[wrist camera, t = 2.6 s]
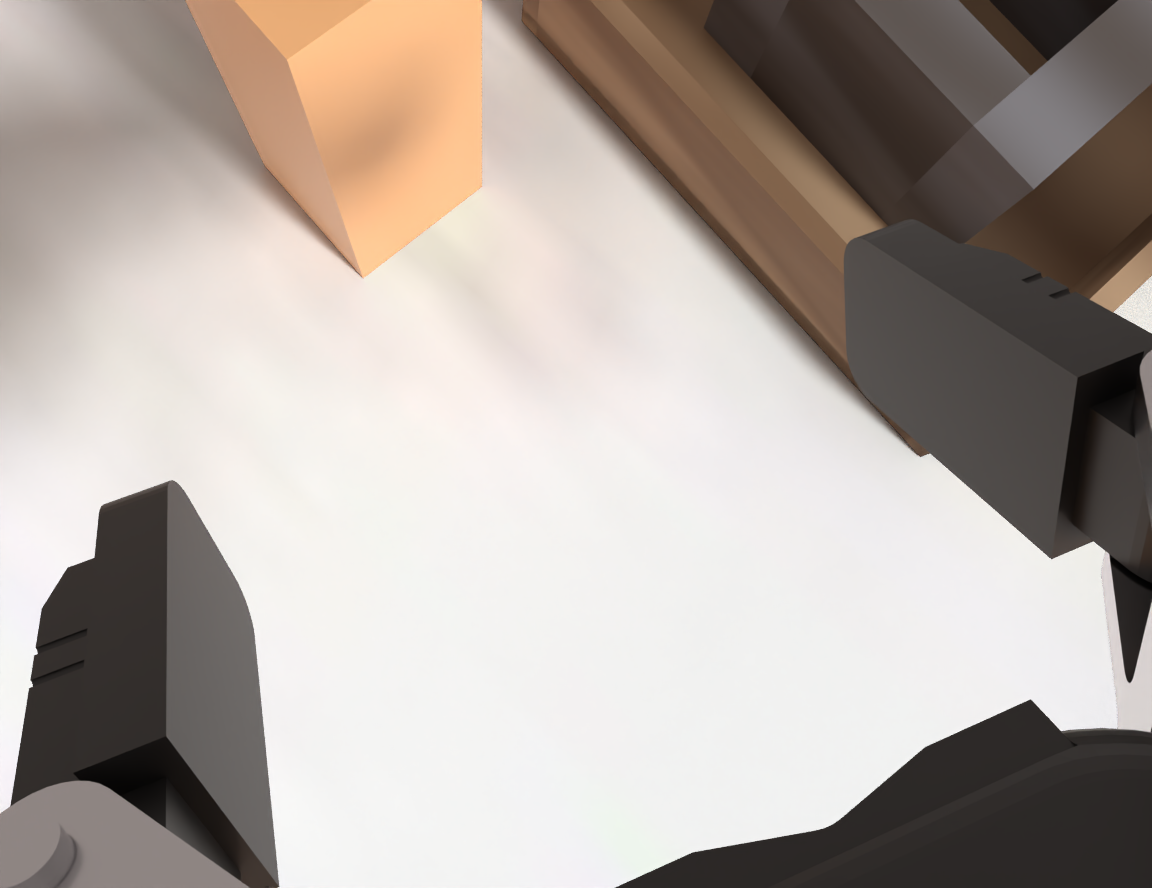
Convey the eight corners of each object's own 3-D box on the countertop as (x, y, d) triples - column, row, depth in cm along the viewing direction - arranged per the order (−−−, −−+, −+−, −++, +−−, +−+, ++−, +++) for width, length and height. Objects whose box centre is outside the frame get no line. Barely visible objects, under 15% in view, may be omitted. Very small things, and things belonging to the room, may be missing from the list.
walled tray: (917, -272, 30) (1016, -474, 24) (1289, 107, 29) (1482, -14, 23) (521, 20, 27) (532, -134, 21) (920, 456, 26) (1039, 413, 20)
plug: (384, 77, 26) (309, -341, 15) (481, 186, 26) (481, -154, 14) (264, 165, 25) (86, -204, 14) (363, 278, 25) (264, -5, 14)
